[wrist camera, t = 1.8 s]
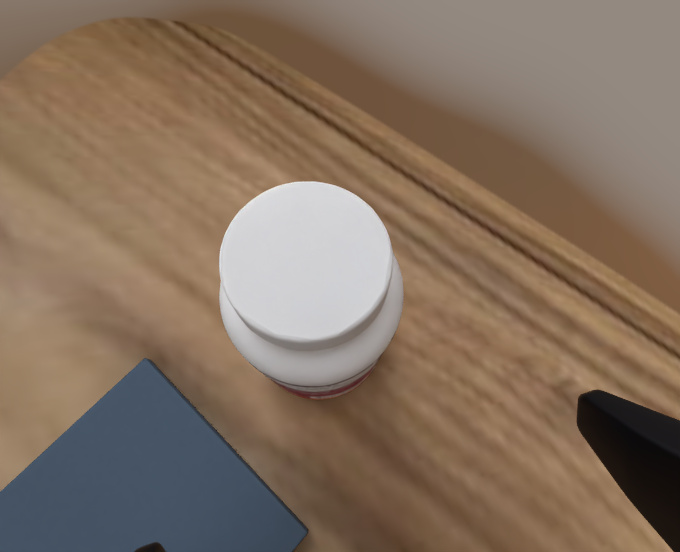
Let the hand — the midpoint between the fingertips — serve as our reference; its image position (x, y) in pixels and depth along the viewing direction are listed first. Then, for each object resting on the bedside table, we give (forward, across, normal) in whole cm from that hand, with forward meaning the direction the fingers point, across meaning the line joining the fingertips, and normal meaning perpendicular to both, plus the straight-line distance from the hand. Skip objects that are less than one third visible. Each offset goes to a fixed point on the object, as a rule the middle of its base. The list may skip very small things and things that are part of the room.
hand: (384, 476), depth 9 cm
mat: (+8, +10, +9) cm, 16 cm away
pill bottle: (+12, 0, +5) cm, 13 cm away
